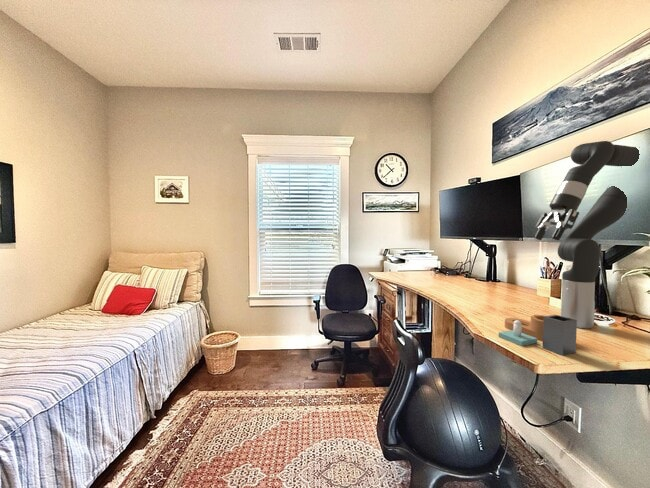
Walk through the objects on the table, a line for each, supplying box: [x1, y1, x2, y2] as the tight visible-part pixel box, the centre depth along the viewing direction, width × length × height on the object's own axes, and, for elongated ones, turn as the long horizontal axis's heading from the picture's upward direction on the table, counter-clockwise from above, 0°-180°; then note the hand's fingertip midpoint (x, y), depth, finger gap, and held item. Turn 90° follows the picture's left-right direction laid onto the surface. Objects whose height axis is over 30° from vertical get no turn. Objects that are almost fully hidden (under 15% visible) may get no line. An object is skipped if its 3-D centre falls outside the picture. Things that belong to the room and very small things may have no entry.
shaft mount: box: [498, 320, 538, 347], centre depth 91 cm, size 7×8×7 cm
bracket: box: [504, 314, 546, 342], centre depth 97 cm, size 18×8×7 cm, turn 17°
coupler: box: [542, 314, 578, 357], centre depth 83 cm, size 6×6×10 cm
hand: (545, 239), depth 95 cm, fingers open, 8 cm apart
